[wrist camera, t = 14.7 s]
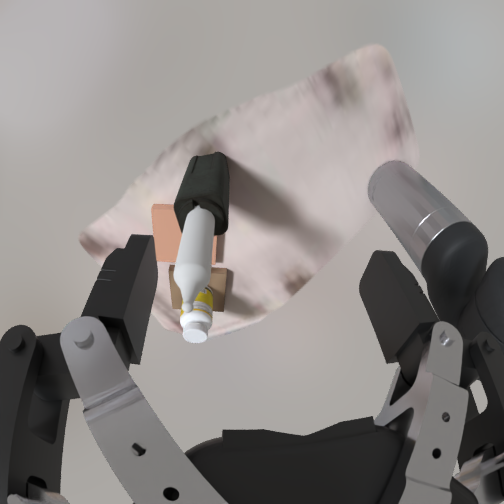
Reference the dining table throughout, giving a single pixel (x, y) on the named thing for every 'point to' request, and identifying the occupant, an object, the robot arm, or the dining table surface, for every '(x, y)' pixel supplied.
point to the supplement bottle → (198, 317)
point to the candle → (200, 222)
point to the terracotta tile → (169, 233)
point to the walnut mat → (215, 285)
